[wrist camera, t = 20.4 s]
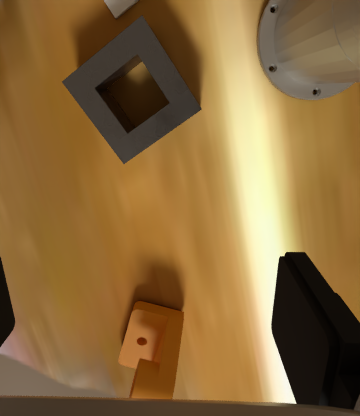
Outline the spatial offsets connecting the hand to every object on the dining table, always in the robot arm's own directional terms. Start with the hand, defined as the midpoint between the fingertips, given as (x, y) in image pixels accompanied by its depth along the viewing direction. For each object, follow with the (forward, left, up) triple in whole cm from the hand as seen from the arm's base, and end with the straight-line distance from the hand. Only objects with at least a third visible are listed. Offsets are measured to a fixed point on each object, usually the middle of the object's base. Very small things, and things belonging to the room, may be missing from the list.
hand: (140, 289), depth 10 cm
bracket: (+19, +21, -29) cm, 41 cm away
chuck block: (0, -7, -29) cm, 30 cm away
